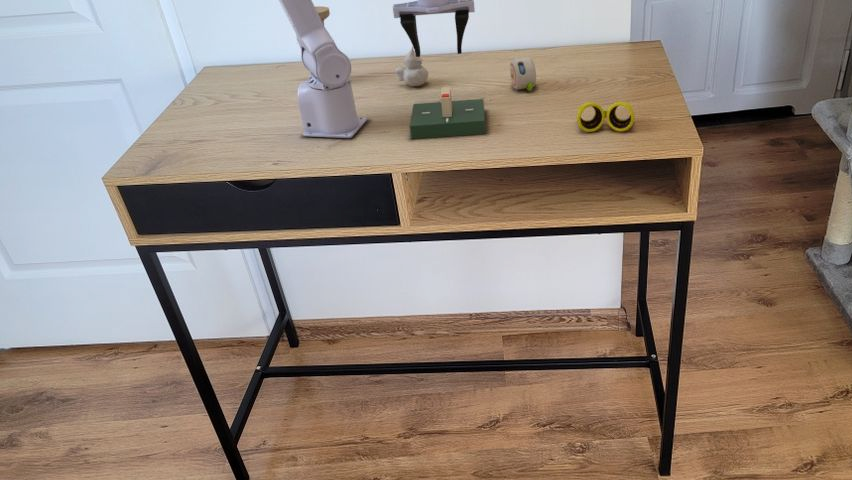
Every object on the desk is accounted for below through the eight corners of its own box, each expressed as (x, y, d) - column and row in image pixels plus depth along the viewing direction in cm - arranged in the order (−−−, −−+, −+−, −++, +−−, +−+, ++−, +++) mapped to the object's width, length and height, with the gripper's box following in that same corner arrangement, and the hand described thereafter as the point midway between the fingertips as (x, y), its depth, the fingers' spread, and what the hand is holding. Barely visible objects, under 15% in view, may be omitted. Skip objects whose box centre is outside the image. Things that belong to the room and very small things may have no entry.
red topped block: (443, 106, 136) (441, 86, 133) (452, 105, 136) (450, 85, 133) (442, 117, 132) (440, 96, 129) (451, 116, 132) (449, 96, 129)
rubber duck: (428, 89, 150) (423, 49, 145) (396, 91, 150) (390, 51, 146) (430, 79, 155) (425, 40, 150) (398, 81, 155) (392, 43, 150)
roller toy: (515, 95, 145) (514, 66, 141) (507, 84, 150) (505, 55, 146) (537, 91, 145) (536, 62, 142) (528, 80, 150) (527, 52, 147)
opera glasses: (632, 125, 132) (633, 97, 130) (634, 132, 127) (635, 103, 125) (577, 126, 133) (577, 98, 131) (577, 133, 128) (577, 104, 126)
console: (411, 139, 131) (409, 125, 129) (414, 116, 139) (413, 103, 138) (485, 133, 131) (484, 119, 129) (484, 111, 139) (483, 97, 138)
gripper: (387, -15, 128) (398, 63, 135) (471, -21, 127) (478, 57, 135) (390, -25, 133) (401, 51, 141) (471, -31, 133) (477, 45, 141)
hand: (439, 53), depth 139 cm, fingers open, 7 cm apart
